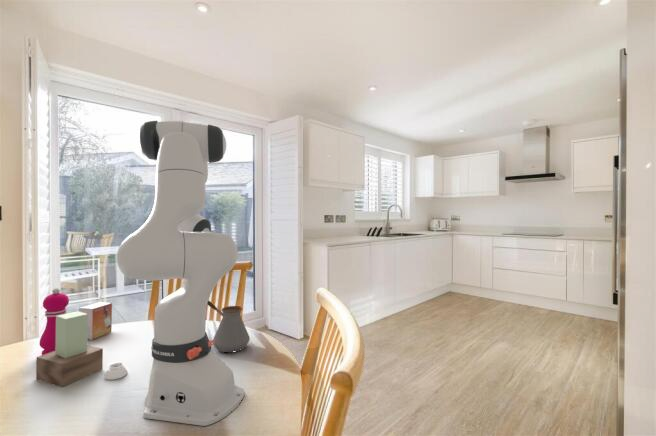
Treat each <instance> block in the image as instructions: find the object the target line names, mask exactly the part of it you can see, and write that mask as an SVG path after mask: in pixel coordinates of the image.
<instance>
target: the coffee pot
mask: <svg viewBox="0 0 656 436" xmlns="http://www.w3.org/2000/svg"><path fill="white" fill-rule="evenodd" d="M207 306H209V307H210V308H212V309H213V310H214V311H216V312H217V313H218V314H219V315H220V316H222V319H221V321H220V323H219V326H218V328H217V330H216V332H215V334H214V336H213V339H215V340H214V341H213V342H212V343H215V344H213V345H212V346H214V348H215V349H217V350H218V351H219V350H220V351H221V352H220V351H219V352H220V353H222V352H233V351H238V350H240V349H242V348H243V349H244V348H245V347H247V346H248V344H249V342H250V340H251V338H250V335H249V333H248V330H247V328H246V325H245V323H244V321H243V318H242V316H241V312H242V310H243V307H242V306H240V305H229V306H228V305H227V306H225V307H223V308H221V309H219V308H217V306H215V305H214V304H213V303H212V302H211V301H210V300H208V304H207ZM243 349H242V350H243Z"/></svg>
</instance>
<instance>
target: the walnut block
mask: <svg viewBox="0 0 656 436" xmlns="http://www.w3.org/2000/svg"><path fill="white" fill-rule="evenodd" d="M103 355H104V348H102V347H97V346H94V345H89V344H87V352H83V353H80V354H77V355H74V356H71V357H68V358H63V357H61V356H58V355H56V354H55V351H53V352H50V353H47V354H44V355H42V354H41V355H39V356H36V358H35V359H36V367H35V369H36V370H35V371H36V372H35V373H36V374H35V379H36V380H37V381H41V382H44V383H47V384H51V385H53V386H56V387H60V388H64V387H67V386H69V385H71V384H73V383H75V382H78V381H79V380H82V379H84V378H86V377H89V376H91V375H93V374H95V373H99V372H100V371H102V370H103V366H104V365H103V364H104V363H103V361H104V359H103V357H104V356H103ZM77 380H78V381H77Z"/></svg>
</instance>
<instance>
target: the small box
mask: <svg viewBox="0 0 656 436" xmlns="http://www.w3.org/2000/svg"><path fill="white" fill-rule="evenodd" d="M78 311H79V312H82V313H86V314H88V330H87V340H94V339H97V338H99V337H102V336H104V335H107V334H110V333H112V329H113V328H112V325H113V324H112V321H113V319H112V318H113V317H112V316H113V314H112V313H113V303H112V302H105V301H102V302H101V301H98V302H95V303H92V304H89V305H85V306H82V307H78Z"/></svg>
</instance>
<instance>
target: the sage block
mask: <svg viewBox="0 0 656 436" xmlns="http://www.w3.org/2000/svg"><path fill="white" fill-rule="evenodd" d="M87 330H88V314H86V313H82V312H79V310H77V311H73V312H67V313H66V314H63V315H58V316H56V346H55V354H56V355H58V356H61V357H63V358H68V357H71V356H74V355H77V354H80V353H83V352H87V345H88V339H87Z"/></svg>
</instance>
